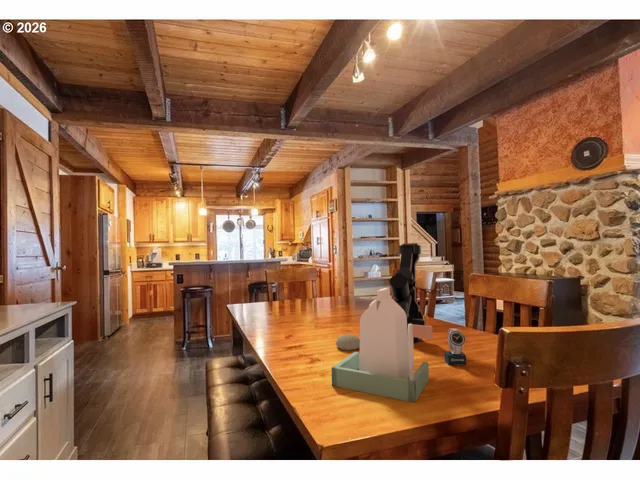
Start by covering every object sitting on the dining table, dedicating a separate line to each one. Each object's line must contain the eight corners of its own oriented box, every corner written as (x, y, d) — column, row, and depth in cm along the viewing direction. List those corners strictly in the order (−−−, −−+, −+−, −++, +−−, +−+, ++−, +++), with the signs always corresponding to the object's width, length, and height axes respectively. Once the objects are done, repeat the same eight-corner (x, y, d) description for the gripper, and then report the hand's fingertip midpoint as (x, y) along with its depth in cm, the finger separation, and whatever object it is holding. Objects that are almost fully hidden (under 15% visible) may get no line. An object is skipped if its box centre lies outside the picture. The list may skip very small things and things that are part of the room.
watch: (450, 367, 109) (449, 332, 109) (443, 358, 117) (442, 326, 117) (468, 367, 108) (467, 332, 108) (460, 358, 116) (459, 326, 116)
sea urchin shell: (362, 347, 126) (346, 331, 127) (347, 361, 127) (331, 345, 128) (364, 340, 135) (349, 325, 136) (350, 353, 136) (335, 338, 137)
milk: (398, 389, 93) (395, 293, 93) (358, 381, 99) (356, 290, 99) (410, 374, 103) (408, 287, 103) (374, 368, 109) (372, 286, 109)
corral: (355, 367, 110) (353, 307, 111) (445, 382, 97) (443, 314, 97) (331, 385, 96) (330, 317, 97) (433, 406, 83) (431, 327, 83)
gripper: (367, 290, 115) (354, 331, 105) (424, 293, 106) (416, 338, 96) (376, 310, 122) (365, 350, 112) (430, 314, 113) (423, 358, 103)
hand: (390, 348), depth 106 cm, fingers closed
